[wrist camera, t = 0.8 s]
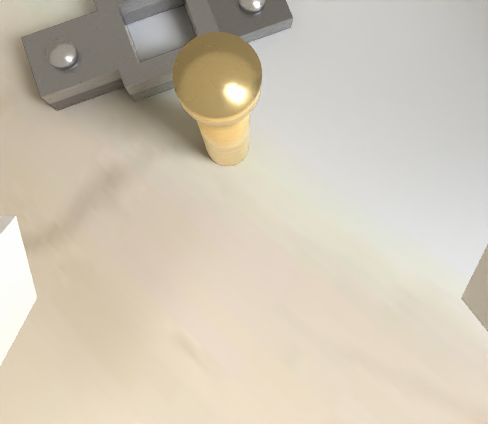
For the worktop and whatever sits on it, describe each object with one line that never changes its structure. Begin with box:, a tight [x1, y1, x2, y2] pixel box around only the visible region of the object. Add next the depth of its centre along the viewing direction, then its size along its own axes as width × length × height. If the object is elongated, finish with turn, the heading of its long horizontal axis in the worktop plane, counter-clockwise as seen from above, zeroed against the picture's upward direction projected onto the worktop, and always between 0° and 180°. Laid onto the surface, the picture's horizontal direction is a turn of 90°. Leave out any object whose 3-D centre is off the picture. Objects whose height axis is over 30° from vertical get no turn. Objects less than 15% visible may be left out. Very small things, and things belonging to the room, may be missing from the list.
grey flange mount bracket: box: [21, 0, 293, 111], centre depth 36 cm, size 24×10×4 cm, turn 111°
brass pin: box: [172, 32, 262, 166], centre depth 29 cm, size 5×5×14 cm
